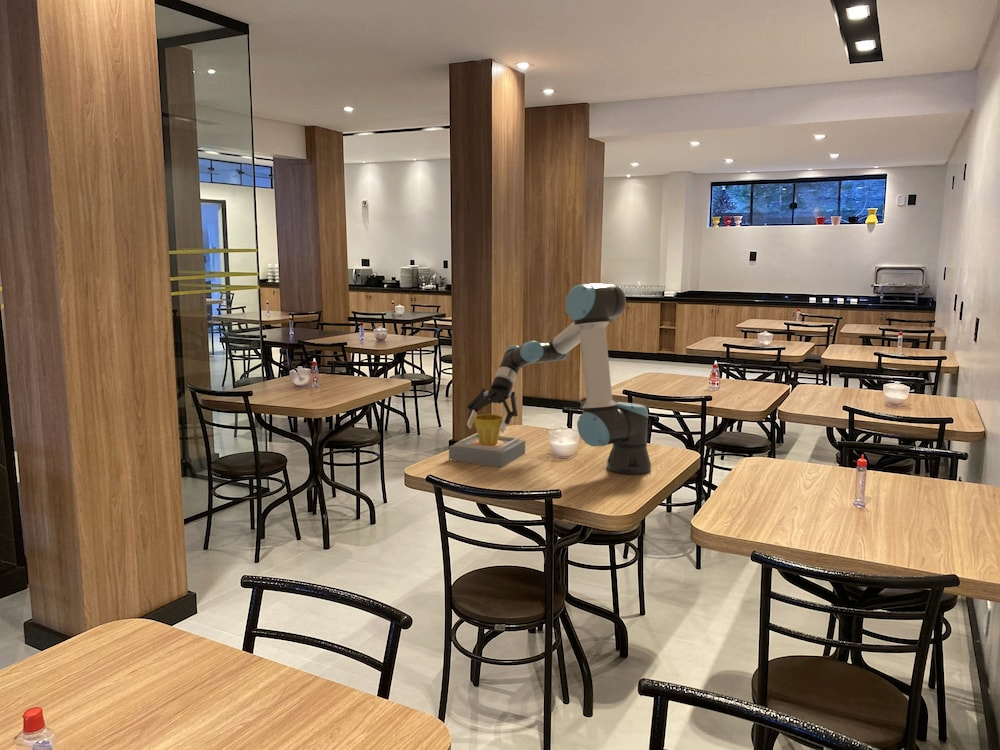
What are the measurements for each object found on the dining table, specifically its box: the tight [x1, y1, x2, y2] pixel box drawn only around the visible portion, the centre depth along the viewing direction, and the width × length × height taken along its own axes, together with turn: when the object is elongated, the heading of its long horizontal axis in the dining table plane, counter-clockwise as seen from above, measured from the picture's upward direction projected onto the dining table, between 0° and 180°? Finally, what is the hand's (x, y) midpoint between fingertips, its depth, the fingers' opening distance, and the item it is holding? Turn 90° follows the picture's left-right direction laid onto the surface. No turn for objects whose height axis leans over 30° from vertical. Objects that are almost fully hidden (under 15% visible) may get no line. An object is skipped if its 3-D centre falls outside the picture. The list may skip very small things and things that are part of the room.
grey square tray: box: [448, 432, 526, 468], centre depth 268 cm, size 21×21×6 cm
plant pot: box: [473, 413, 504, 445], centre depth 267 cm, size 10×10×10 cm
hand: (484, 428), depth 264 cm, fingers open, 13 cm apart
